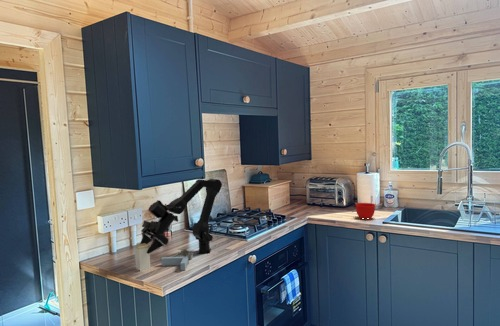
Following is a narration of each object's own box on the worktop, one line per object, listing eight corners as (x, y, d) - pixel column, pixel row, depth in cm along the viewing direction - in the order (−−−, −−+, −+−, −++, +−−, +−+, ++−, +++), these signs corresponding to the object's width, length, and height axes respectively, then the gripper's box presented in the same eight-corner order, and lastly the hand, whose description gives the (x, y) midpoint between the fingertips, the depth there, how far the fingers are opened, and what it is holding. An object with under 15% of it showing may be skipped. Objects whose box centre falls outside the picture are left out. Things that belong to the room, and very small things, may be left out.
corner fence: (162, 264, 171) (162, 257, 171) (188, 263, 171) (188, 256, 171) (157, 271, 162) (157, 264, 162) (185, 270, 162) (184, 263, 162)
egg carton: (187, 256, 183) (186, 248, 183) (195, 259, 177) (194, 251, 177) (168, 261, 176) (168, 253, 176) (176, 265, 170) (175, 256, 170)
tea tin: (146, 265, 171) (144, 243, 170) (150, 268, 167) (149, 245, 166) (135, 268, 167) (134, 245, 166) (140, 271, 163) (138, 247, 162)
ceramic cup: (371, 215, 261) (371, 201, 260) (377, 220, 244) (377, 206, 243) (353, 215, 262) (353, 202, 261) (357, 220, 245) (357, 206, 245)
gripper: (144, 211, 176) (123, 237, 170) (161, 216, 162) (139, 245, 155) (159, 224, 182) (139, 250, 175) (177, 230, 167) (156, 259, 161)
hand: (143, 251), depth 167 cm, fingers open, 9 cm apart
